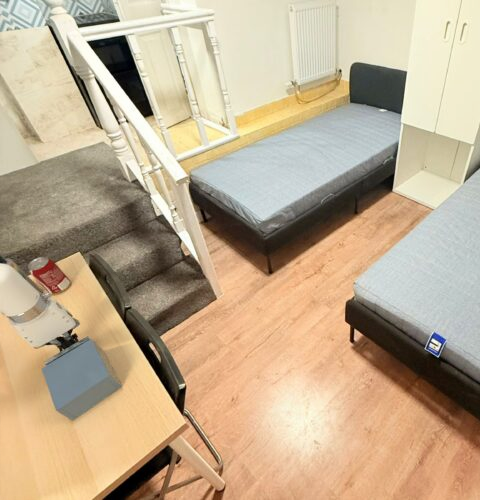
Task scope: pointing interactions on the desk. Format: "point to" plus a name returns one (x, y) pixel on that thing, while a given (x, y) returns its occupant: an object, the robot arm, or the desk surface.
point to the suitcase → (80, 380)
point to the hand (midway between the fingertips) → (71, 346)
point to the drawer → (63, 352)
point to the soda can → (48, 275)
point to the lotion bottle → (19, 271)
